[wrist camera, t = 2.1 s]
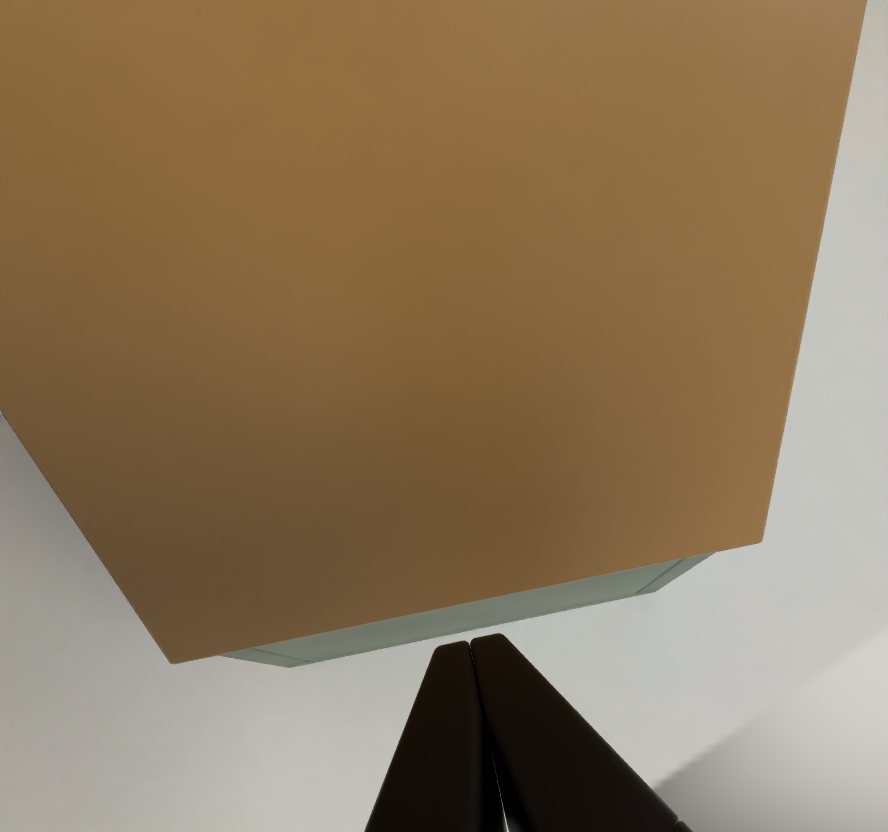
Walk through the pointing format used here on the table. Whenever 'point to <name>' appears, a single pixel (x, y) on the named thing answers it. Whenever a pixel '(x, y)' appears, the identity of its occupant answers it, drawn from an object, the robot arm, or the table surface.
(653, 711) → the table surface
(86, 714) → the table surface
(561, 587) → the green open box
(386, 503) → the lid
